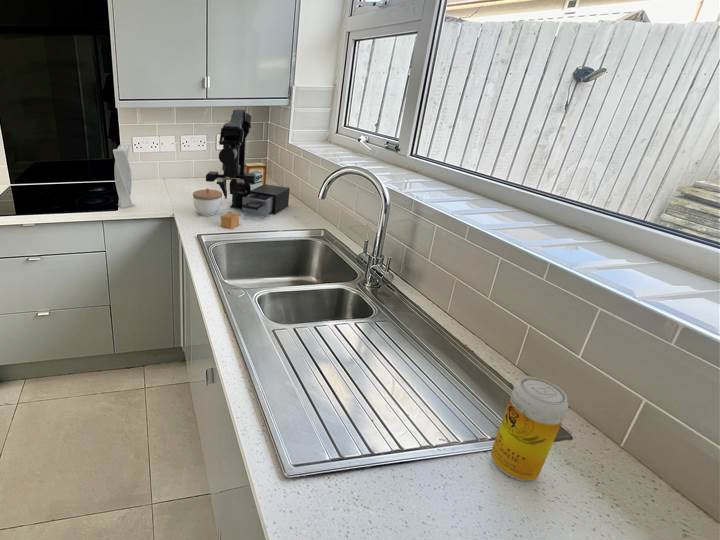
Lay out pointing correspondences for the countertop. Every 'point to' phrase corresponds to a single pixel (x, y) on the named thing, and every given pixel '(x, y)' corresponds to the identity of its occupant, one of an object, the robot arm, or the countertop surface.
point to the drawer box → (274, 195)
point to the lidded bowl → (207, 201)
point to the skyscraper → (123, 176)
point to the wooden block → (229, 220)
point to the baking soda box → (256, 173)
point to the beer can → (529, 428)
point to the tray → (258, 204)
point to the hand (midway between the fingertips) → (230, 199)
